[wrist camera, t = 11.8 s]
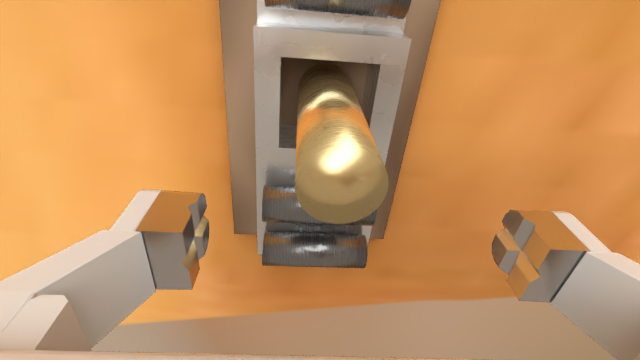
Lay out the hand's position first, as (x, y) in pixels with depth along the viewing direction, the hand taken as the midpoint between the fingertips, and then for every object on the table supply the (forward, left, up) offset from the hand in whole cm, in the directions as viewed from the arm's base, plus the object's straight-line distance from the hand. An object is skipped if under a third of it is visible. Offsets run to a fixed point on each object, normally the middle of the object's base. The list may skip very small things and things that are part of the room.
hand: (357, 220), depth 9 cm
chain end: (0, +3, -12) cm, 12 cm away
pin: (0, 0, -12) cm, 12 cm away
